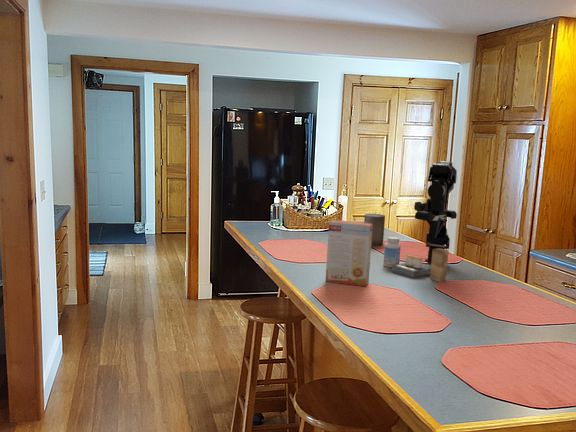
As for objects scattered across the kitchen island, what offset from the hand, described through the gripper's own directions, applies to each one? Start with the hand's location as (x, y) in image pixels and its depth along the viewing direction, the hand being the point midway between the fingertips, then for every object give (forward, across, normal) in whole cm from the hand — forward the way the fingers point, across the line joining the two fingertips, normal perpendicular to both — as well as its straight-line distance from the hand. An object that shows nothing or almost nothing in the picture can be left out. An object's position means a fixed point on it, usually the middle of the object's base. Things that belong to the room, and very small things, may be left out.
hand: (434, 237), depth 202 cm
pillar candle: (+13, -17, -46) cm, 51 cm away
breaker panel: (+13, +11, 0) cm, 17 cm away
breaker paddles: (+10, +11, 0) cm, 15 cm away
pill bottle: (+13, +10, -12) cm, 20 cm away
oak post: (+13, +10, +10) cm, 19 cm away
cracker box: (+13, +43, -3) cm, 45 cm away
